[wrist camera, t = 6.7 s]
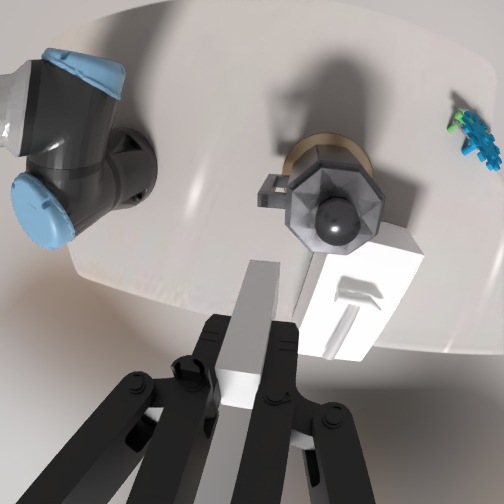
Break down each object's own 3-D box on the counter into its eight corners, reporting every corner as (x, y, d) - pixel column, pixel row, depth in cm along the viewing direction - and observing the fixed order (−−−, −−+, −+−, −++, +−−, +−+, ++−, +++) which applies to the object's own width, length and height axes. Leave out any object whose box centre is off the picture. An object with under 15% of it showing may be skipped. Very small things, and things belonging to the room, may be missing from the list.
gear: (503, 145, 27) (504, 181, 25) (482, 157, 33) (477, 193, 31) (463, 94, 27) (459, 122, 25) (442, 111, 33) (434, 141, 30)
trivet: (280, 215, 45) (280, 217, 44) (284, 129, 37) (283, 129, 37) (364, 224, 42) (365, 226, 42) (377, 139, 35) (378, 140, 35)
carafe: (270, 206, 44) (253, 250, 32) (272, 139, 38) (254, 156, 26) (357, 215, 41) (374, 263, 29) (366, 149, 36) (393, 171, 24)
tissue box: (405, 227, 41) (430, 264, 32) (355, 329, 55) (362, 370, 45) (327, 207, 42) (336, 242, 32) (291, 319, 55) (289, 362, 46)
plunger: (300, 207, 39) (294, 256, 28) (303, 155, 35) (300, 181, 24) (352, 213, 38) (368, 264, 26) (359, 161, 34) (384, 191, 22)
